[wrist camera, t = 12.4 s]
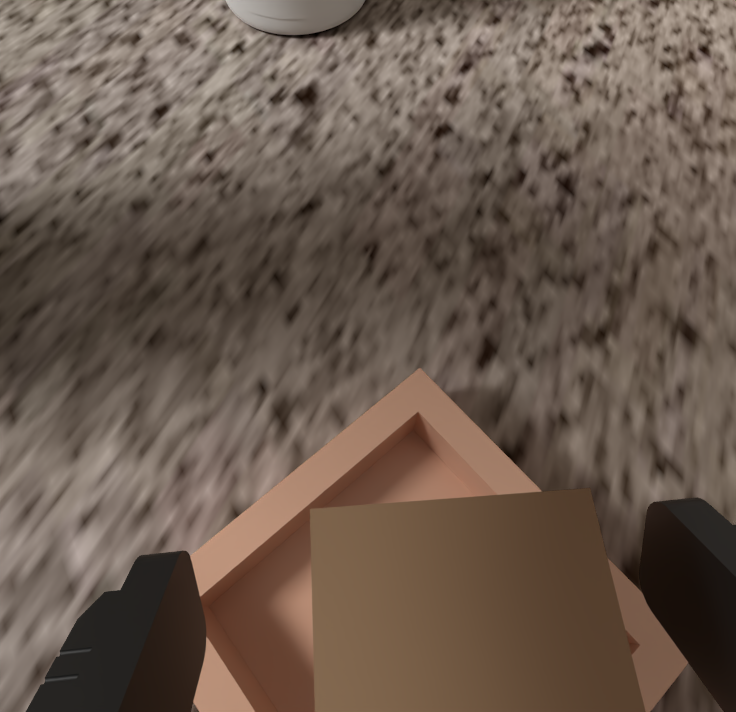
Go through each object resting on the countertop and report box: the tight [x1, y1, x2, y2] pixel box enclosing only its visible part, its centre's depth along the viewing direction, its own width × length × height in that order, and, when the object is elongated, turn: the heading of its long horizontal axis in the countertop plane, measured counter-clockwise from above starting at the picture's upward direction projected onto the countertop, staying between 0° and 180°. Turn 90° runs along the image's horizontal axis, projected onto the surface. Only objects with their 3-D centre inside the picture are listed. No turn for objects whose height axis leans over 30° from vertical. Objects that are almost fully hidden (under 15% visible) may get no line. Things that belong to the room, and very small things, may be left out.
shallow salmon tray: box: [190, 368, 688, 712], centre depth 14 cm, size 10×10×2 cm
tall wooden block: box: [310, 488, 646, 712], centre depth 10 cm, size 4×4×10 cm
